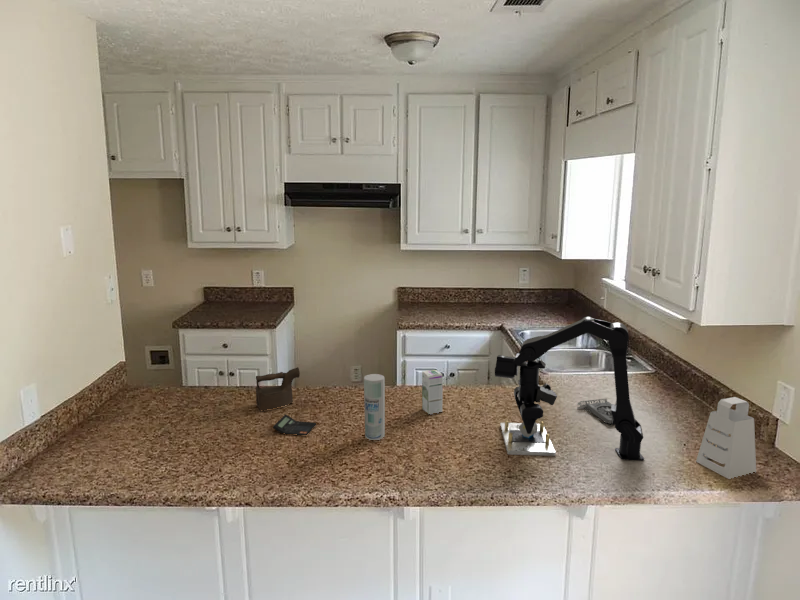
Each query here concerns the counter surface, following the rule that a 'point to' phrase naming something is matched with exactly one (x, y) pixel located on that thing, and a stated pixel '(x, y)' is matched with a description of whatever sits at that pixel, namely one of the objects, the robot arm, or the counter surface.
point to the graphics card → (598, 409)
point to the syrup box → (432, 391)
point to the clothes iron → (276, 390)
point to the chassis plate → (526, 440)
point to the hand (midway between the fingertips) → (526, 427)
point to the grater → (729, 440)
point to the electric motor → (524, 432)
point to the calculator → (293, 426)
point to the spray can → (374, 406)
